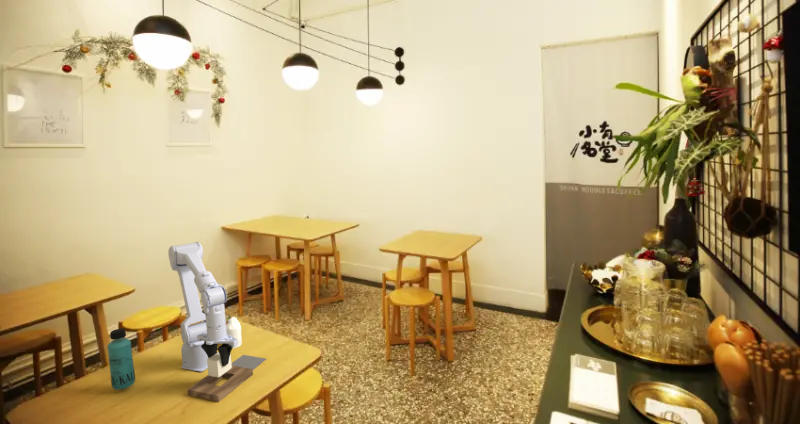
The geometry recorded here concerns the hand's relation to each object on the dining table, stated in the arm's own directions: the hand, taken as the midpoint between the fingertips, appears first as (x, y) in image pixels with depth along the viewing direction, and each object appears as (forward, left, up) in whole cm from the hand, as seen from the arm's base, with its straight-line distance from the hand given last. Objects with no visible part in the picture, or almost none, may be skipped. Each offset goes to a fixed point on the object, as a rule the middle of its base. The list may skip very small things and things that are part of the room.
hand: (219, 363), depth 133 cm
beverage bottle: (-29, -11, -8) cm, 32 cm away
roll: (-15, +24, -8) cm, 29 cm away
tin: (-26, +28, -8) cm, 39 cm away
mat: (-1, +14, -7) cm, 16 cm away
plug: (0, 0, -3) cm, 3 cm away
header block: (0, 0, -7) cm, 7 cm away
